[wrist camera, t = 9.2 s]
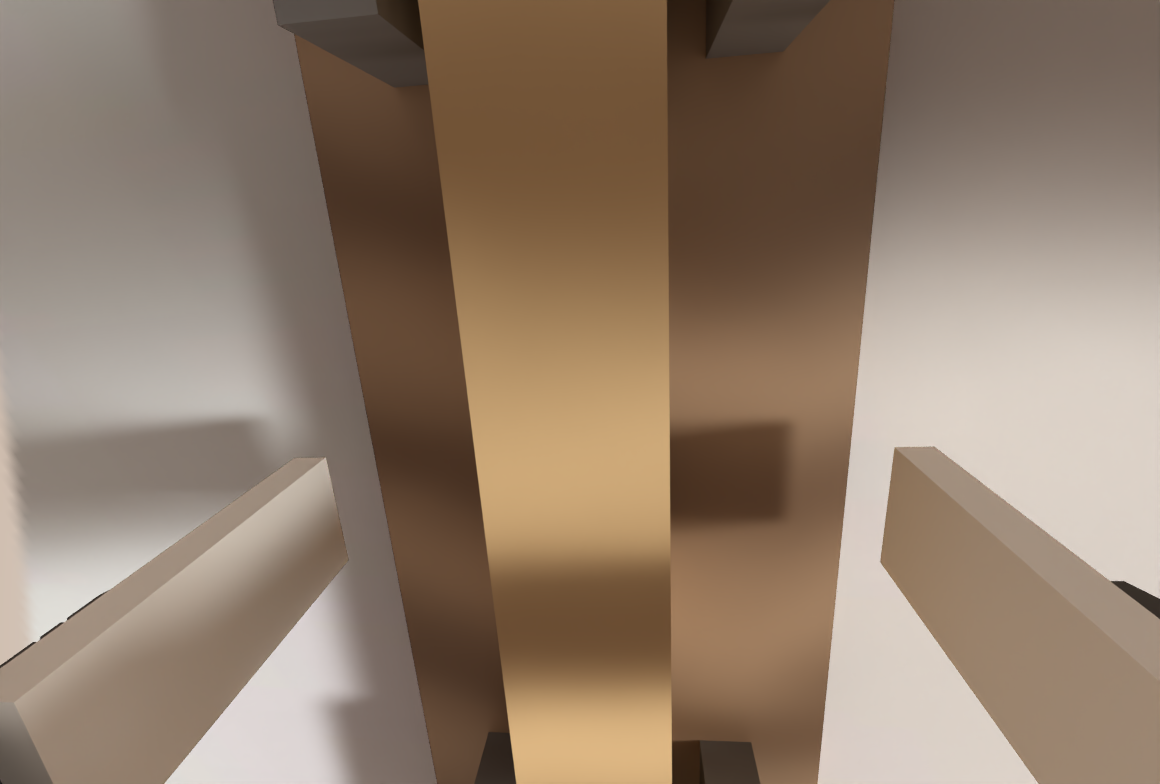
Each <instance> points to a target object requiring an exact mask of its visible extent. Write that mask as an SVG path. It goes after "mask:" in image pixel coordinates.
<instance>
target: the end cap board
mask: <svg viewBox="0 0 1160 784" xmlns="http://www.w3.org/2000/svg"><path fill="white" fill-rule="evenodd" d="M273 3H274V8H275V13H276V18H277V23H278V25H279V26H281V27H283V28H284V29H286V30H288V31H290V32H292V33H294V36H295V41H296V46H297V52H298V57H299V62H300V67H301V72H302V78H303V83H304V88H305V93H306V99H307V104H308V109H309V114H310V120H311V125H312V130H313V135H314V141H315V146H316V151H317V156H318V161H319V167H320V172H321V177H322V182H323V188H324V193H325V198H326V203H327V209H328V214H329V219H330V224H331V230H332V235H333V240H334V245H335V250H336V256H337V261H338V266H339V271H340V277H341V282H342V287H343V292H344V298H345V303H346V308H347V313H348V319H349V324H350V329H351V334H352V339H353V345H354V350H355V355H356V360H357V366H358V371H359V376H360V381H361V387H362V392H363V397H364V402H365V408H366V413H367V418H368V423H369V428H370V434H371V439H372V444H373V449H374V455H375V460H376V465H377V470H378V476H379V481H380V486H381V491H382V497H383V502H384V507H385V512H386V517H387V523H388V528H389V533H390V538H391V544H392V549H393V554H394V559H395V565H396V570H397V575H398V580H399V586H400V591H401V596H402V601H403V606H404V612H405V617H406V622H407V627H408V633H409V638H410V643H411V648H412V654H413V659H414V664H415V669H416V675H417V680H418V685H419V690H420V695H421V701H422V706H423V711H424V716H425V722H426V727H427V732H428V737H429V743H430V748H431V753H432V758H433V764H434V769H435V774H436V779H437V784H516V777H515V769H514V761H513V753H512V745H511V737H510V730H509V722H508V714H507V706H506V698H505V690H504V682H503V674H502V666H501V658H500V650H499V642H498V634H497V626H496V618H495V610H494V602H493V594H492V586H491V578H490V570H489V562H488V554H487V546H486V538H485V530H484V522H483V514H482V506H481V498H480V490H479V482H478V474H477V466H476V459H475V451H474V443H473V435H472V427H471V419H470V411H469V403H468V395H467V387H466V379H465V371H464V363H463V355H462V347H461V339H460V331H459V323H458V315H457V307H456V299H455V291H454V283H453V275H452V267H451V259H450V251H449V243H448V235H447V227H446V219H445V211H444V203H443V196H442V188H441V180H440V172H439V164H438V156H437V148H436V140H435V132H434V124H433V116H432V108H431V100H430V92H429V84H428V76H427V68H426V60H425V52H424V44H423V36H422V28H421V20H420V12H419V4H418V0H273ZM893 9H894V0H667V106H668V256H669V407H670V557H671V707H672V784H817V782H818V772H819V761H820V751H821V741H822V731H823V721H824V711H825V700H826V690H827V680H828V670H829V660H830V650H831V639H832V629H833V619H834V609H835V599H836V589H837V578H838V568H839V558H840V548H841V538H842V528H843V517H844V507H845V497H846V487H847V477H848V467H849V456H850V446H851V436H852V426H853V416H854V406H855V395H856V385H857V375H858V365H859V355H860V345H861V334H862V324H863V314H864V304H865V294H866V284H867V273H868V263H869V253H870V243H871V233H872V223H873V212H874V202H875V192H876V182H877V172H878V162H879V151H880V141H881V131H882V121H883V111H884V101H885V91H886V80H887V70H888V60H889V50H890V40H891V30H892V19H893Z"/></svg>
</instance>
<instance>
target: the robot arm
mask: <svg viewBox="0 0 1160 784" xmlns="http://www.w3.org/2000/svg"><path fill="white" fill-rule="evenodd" d="M347 561H348V555H347V550H346V546H345V541H344V537H343V532H342V528H341V523H340V519H339V514H338V510H337V505H336V501H335V496H334V492H333V487H332V483H331V478H330V474H329V469H328V465H327V460H326V457H312V458H294V459H292V460H291V461H289V462H288V463H287V464H285V465H284V466H282V467H281V468H280V469H278V470H277V471H275V472H274V473H273V474H271V475H270V476H268V477H267V478H266V479H264V480H263V481H262V482H260V483H259V484H257V485H256V486H255V487H253V488H252V489H250V490H249V491H248V492H246V493H245V494H243V495H242V496H241V497H239V498H238V499H236V500H235V501H234V502H232V503H231V504H229V505H228V506H227V507H225V508H224V509H222V510H221V511H220V512H218V513H217V514H215V515H214V516H213V517H211V518H210V519H208V520H207V521H206V522H204V523H203V524H201V525H200V526H199V527H197V528H196V529H194V530H193V531H192V532H190V533H189V534H187V535H186V536H185V537H183V538H182V539H180V540H179V541H178V542H176V543H175V544H173V545H172V546H171V547H169V548H168V549H166V550H165V551H164V552H162V553H161V554H159V555H158V556H157V557H155V558H154V559H152V560H151V561H150V562H148V563H147V564H145V565H144V566H143V567H141V568H140V569H138V570H137V571H136V572H134V573H133V574H131V575H130V576H129V577H127V578H126V579H125V580H123V581H122V582H120V583H119V584H118V585H116V586H115V587H113V588H112V589H110V590H108V591H107V592H105V593H103V594H101V595H99V596H97V597H96V598H95V599H93V600H92V601H90V602H89V603H88V604H86V605H85V606H83V607H82V608H80V609H79V610H78V611H76V612H75V613H73V614H72V615H71V616H69V617H68V618H67V621H66V622H64V623H63V622H61V623H59V624H58V625H57V626H55V627H54V628H52V629H51V630H50V631H48V632H47V633H45V634H44V635H43V636H41V637H40V640H39V641H38V642H33V643H31V644H30V645H28V646H27V647H26V648H24V649H23V650H21V651H20V652H19V653H17V654H16V655H14V656H13V657H12V658H10V659H9V660H8V661H6V662H5V663H3V664H2V665H0V784H164V783H165V782H166V781H167V779H168V778H169V777H170V776H171V775H172V773H173V772H174V771H175V770H176V769H177V767H178V766H179V765H180V764H181V763H182V761H183V760H184V759H185V758H186V756H187V755H188V754H189V753H190V752H191V750H192V749H193V748H194V747H195V746H196V744H197V743H198V742H199V741H200V740H201V738H202V737H203V736H204V735H205V733H206V732H207V731H208V730H209V729H210V727H211V726H212V725H213V724H214V723H215V721H216V720H217V719H218V718H219V716H220V715H221V714H222V713H223V712H224V710H225V709H226V708H227V707H228V706H229V704H230V703H231V702H232V701H233V700H234V698H235V697H236V696H237V695H238V693H239V692H240V691H241V690H242V689H243V687H244V686H245V685H246V684H247V683H248V681H249V680H250V679H251V678H252V677H253V675H254V674H255V673H256V672H257V670H258V669H259V668H260V667H261V666H262V664H263V663H264V662H265V661H266V660H267V658H268V657H269V656H270V655H271V654H272V652H273V651H274V650H275V649H276V647H277V646H278V645H279V644H280V643H281V641H282V640H283V639H284V638H285V637H286V635H287V634H288V633H289V632H290V631H291V629H292V628H293V627H294V626H295V624H296V623H297V622H298V621H299V620H300V618H301V617H302V616H303V615H304V614H305V612H306V611H307V610H308V609H309V607H310V606H311V605H312V604H313V603H314V601H315V600H316V599H317V598H318V597H319V595H320V594H321V593H322V592H323V591H324V589H325V588H326V587H327V586H328V584H329V583H330V582H331V581H332V580H333V578H334V577H335V576H336V575H337V574H338V572H339V571H340V570H341V569H342V568H343V566H344V565H345V564H346V563H347ZM880 562H881V564H882V565H883V567H884V568H885V569H886V571H887V572H888V574H889V575H890V576H891V578H892V579H893V581H894V582H895V583H896V585H897V586H898V588H899V589H900V590H901V592H902V593H903V595H904V596H905V597H906V599H907V600H908V602H909V603H910V604H911V606H912V607H913V609H914V610H915V611H916V613H917V614H918V616H919V617H920V618H921V620H922V621H923V623H924V624H925V625H926V627H927V628H928V630H929V631H930V632H931V634H932V635H933V637H934V638H935V639H936V641H937V642H938V644H939V645H940V646H941V648H942V649H943V651H944V652H945V653H946V655H947V656H948V658H949V659H950V660H951V662H952V663H953V665H954V666H955V667H956V669H957V670H958V672H959V673H960V674H961V676H962V677H963V679H964V680H965V681H966V683H967V684H968V686H969V687H970V688H971V690H972V691H973V692H974V694H975V695H976V697H977V698H978V699H979V701H980V702H981V704H982V705H983V706H984V708H985V709H986V711H987V712H988V713H989V715H990V716H991V718H992V719H993V720H994V722H995V723H996V725H997V726H998V727H999V729H1000V730H1001V732H1002V733H1003V734H1004V736H1005V737H1006V739H1007V740H1008V741H1009V743H1010V744H1011V746H1012V747H1013V748H1014V750H1015V751H1016V753H1017V754H1018V755H1019V757H1020V758H1021V760H1022V761H1023V762H1024V764H1025V765H1026V767H1027V768H1028V769H1029V771H1030V772H1031V774H1032V775H1033V776H1034V778H1035V779H1036V781H1037V782H1038V783H1039V784H1160V599H1159V598H1157V597H1155V596H1153V595H1151V594H1149V593H1147V592H1145V591H1143V590H1141V589H1139V588H1137V587H1135V586H1133V585H1130V584H1128V583H1126V582H1124V581H1109V580H1108V579H1107V578H1105V577H1104V576H1103V575H1101V574H1100V573H1099V572H1097V571H1096V570H1095V569H1094V568H1092V567H1091V566H1090V565H1088V564H1087V563H1086V562H1084V561H1083V560H1082V559H1080V558H1079V557H1078V556H1077V555H1075V554H1074V553H1073V552H1071V551H1070V550H1069V549H1067V548H1066V547H1065V546H1063V545H1062V544H1061V543H1060V542H1058V541H1057V540H1056V539H1054V538H1053V537H1052V536H1050V535H1049V534H1048V533H1047V532H1045V531H1044V530H1043V529H1041V528H1040V527H1039V526H1037V525H1036V524H1035V523H1033V522H1032V521H1031V520H1030V519H1028V518H1027V517H1026V516H1024V515H1023V514H1022V513H1020V512H1019V511H1018V510H1016V509H1015V508H1014V507H1013V506H1011V505H1010V504H1009V503H1007V502H1006V501H1005V500H1003V499H1002V498H1001V497H999V496H998V495H997V494H996V493H994V492H993V491H992V490H990V489H989V488H988V487H986V486H985V485H984V484H982V483H981V482H980V481H979V480H977V479H976V478H975V477H973V476H972V475H971V474H969V473H968V472H967V471H965V470H964V469H963V468H962V467H960V466H959V465H958V464H956V463H955V462H954V461H952V460H951V459H950V458H949V457H947V456H946V455H945V454H943V453H942V452H941V451H939V450H938V449H937V448H935V447H895V449H894V457H893V465H892V473H891V481H890V489H889V497H888V505H887V513H886V521H885V529H884V537H883V545H882V553H881V561H880Z"/></svg>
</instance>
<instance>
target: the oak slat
mask: <svg viewBox="0 0 1160 784" xmlns="http://www.w3.org/2000/svg"><path fill="white" fill-rule="evenodd" d="M418 4H419V12H420V20H421V28H422V36H423V44H424V52H425V60H426V68H427V76H428V84H429V92H430V100H431V108H432V116H433V124H434V132H435V140H436V148H437V156H438V164H439V172H440V180H441V188H442V196H443V203H444V211H445V219H446V227H447V235H448V243H449V251H450V259H451V267H452V275H453V283H454V291H455V299H456V307H457V315H458V323H459V331H460V339H461V347H462V355H463V363H464V371H465V379H466V387H467V395H468V403H469V411H470V419H471V427H472V435H473V443H474V451H475V459H476V466H477V474H478V482H479V490H480V498H481V506H482V514H483V522H484V530H485V538H486V546H487V554H488V562H489V570H490V578H491V586H492V594H493V602H494V610H495V618H496V626H497V634H498V642H499V650H500V658H501V666H502V674H503V682H504V690H505V698H506V706H507V714H508V722H509V730H510V737H511V745H512V753H513V761H514V769H515V777H516V784H672V707H671V557H670V407H669V256H668V106H667V0H418Z"/></svg>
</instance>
